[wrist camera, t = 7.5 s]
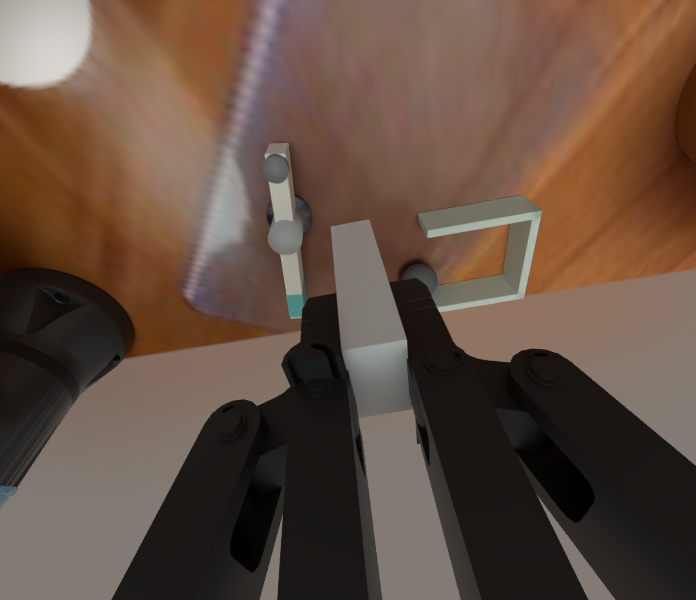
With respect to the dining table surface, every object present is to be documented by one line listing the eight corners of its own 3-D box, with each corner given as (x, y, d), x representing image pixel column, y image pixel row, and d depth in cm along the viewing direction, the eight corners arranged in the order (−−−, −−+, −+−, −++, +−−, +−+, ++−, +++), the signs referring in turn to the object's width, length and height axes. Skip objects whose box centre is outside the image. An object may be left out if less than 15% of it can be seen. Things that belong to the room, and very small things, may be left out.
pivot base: (275, 237, 35) (274, 240, 35) (261, 198, 33) (260, 200, 32) (315, 230, 35) (315, 233, 35) (305, 189, 32) (305, 192, 32)
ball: (405, 294, 41) (401, 304, 37) (402, 262, 39) (396, 269, 36) (439, 291, 39) (438, 302, 36) (436, 258, 38) (434, 266, 35)
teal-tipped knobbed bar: (286, 298, 39) (283, 325, 35) (261, 143, 29) (253, 157, 25) (311, 297, 39) (311, 323, 36) (296, 142, 29) (293, 156, 25)
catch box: (420, 293, 41) (428, 314, 38) (417, 213, 35) (427, 230, 32) (507, 278, 41) (523, 298, 37) (521, 195, 34) (542, 210, 31)
